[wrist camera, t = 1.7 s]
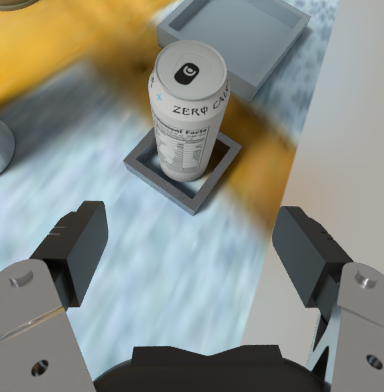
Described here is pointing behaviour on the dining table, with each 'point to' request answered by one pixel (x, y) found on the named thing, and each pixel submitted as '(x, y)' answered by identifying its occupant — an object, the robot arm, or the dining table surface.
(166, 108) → the energy drink can
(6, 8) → the can
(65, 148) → the dining table surface
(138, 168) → the can socket
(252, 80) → the tray
